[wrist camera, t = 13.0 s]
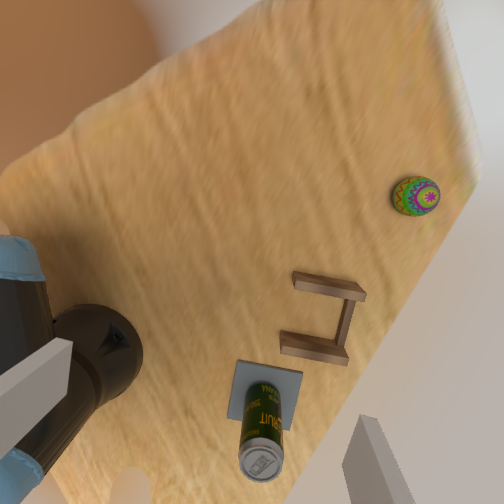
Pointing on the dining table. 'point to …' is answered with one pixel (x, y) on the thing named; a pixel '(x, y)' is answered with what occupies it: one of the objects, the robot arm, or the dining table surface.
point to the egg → (416, 196)
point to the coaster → (278, 377)
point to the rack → (335, 349)
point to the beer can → (261, 434)
